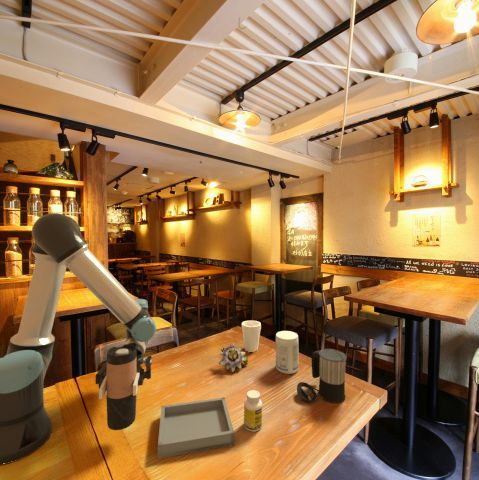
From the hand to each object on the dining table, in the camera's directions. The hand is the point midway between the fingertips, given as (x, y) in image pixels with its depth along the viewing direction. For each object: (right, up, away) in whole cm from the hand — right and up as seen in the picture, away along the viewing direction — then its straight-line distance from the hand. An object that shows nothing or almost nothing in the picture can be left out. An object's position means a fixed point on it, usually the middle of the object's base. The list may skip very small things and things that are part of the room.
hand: (117, 392), depth 70 cm
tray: (+18, -17, +10) cm, 27 cm away
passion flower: (+29, -16, +47) cm, 57 cm away
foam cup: (+37, -15, +63) cm, 75 cm away
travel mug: (-1, -11, +5) cm, 12 cm away
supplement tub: (+52, -16, +45) cm, 70 cm away
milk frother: (+60, -16, +26) cm, 68 cm away
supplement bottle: (+35, -17, +12) cm, 41 cm away
